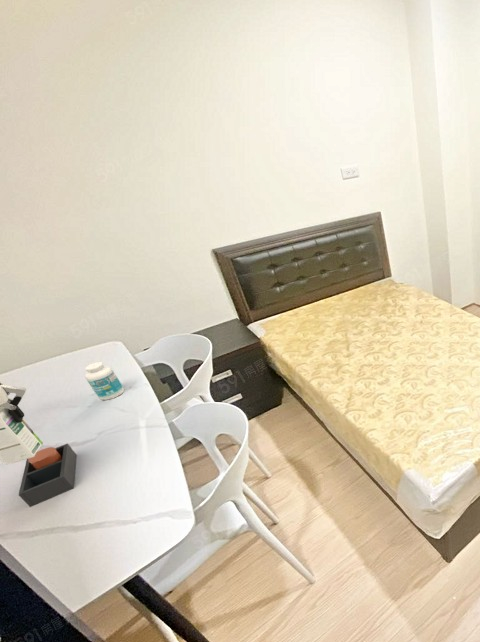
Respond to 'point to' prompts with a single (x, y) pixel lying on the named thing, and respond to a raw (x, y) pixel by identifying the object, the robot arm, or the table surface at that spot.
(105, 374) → the pill bottle
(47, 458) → the orange faceted barrel
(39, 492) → the holder
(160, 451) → the table surface
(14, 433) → the syrup box
